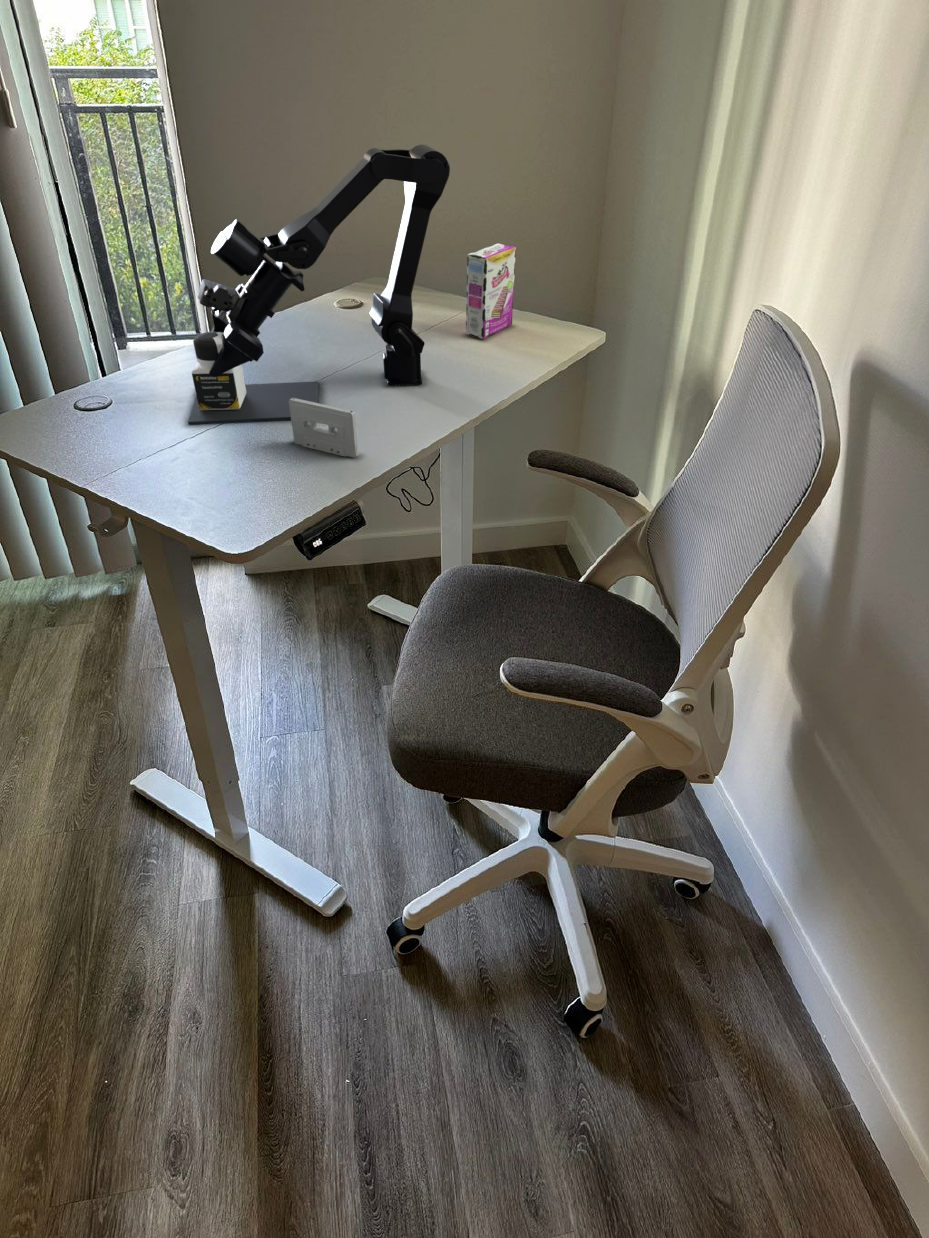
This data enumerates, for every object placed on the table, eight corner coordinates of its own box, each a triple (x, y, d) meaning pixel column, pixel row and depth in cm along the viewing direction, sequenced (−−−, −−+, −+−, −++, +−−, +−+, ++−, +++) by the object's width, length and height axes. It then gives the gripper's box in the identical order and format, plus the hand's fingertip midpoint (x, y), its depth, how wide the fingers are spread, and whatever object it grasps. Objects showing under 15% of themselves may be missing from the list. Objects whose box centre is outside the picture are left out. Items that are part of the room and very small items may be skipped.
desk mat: (319, 384, 160) (318, 381, 160) (318, 418, 149) (317, 415, 148) (199, 389, 158) (198, 386, 158) (188, 425, 146) (187, 421, 146)
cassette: (360, 454, 138) (357, 410, 133) (354, 459, 137) (350, 414, 132) (298, 439, 142) (293, 396, 137) (292, 444, 141) (286, 400, 136)
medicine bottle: (199, 411, 149) (184, 343, 142) (207, 393, 155) (194, 328, 147) (240, 410, 150) (227, 342, 142) (247, 393, 155) (235, 327, 148)
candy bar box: (484, 340, 178) (486, 258, 168) (465, 335, 181) (465, 254, 170) (514, 325, 185) (517, 245, 175) (494, 321, 188) (496, 241, 178)
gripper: (213, 247, 146) (161, 319, 150) (231, 278, 132) (172, 357, 136) (266, 289, 153) (215, 357, 157) (288, 323, 139) (231, 397, 143)
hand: (207, 366), depth 148 cm, fingers closed on medicine bottle, 8 cm apart
